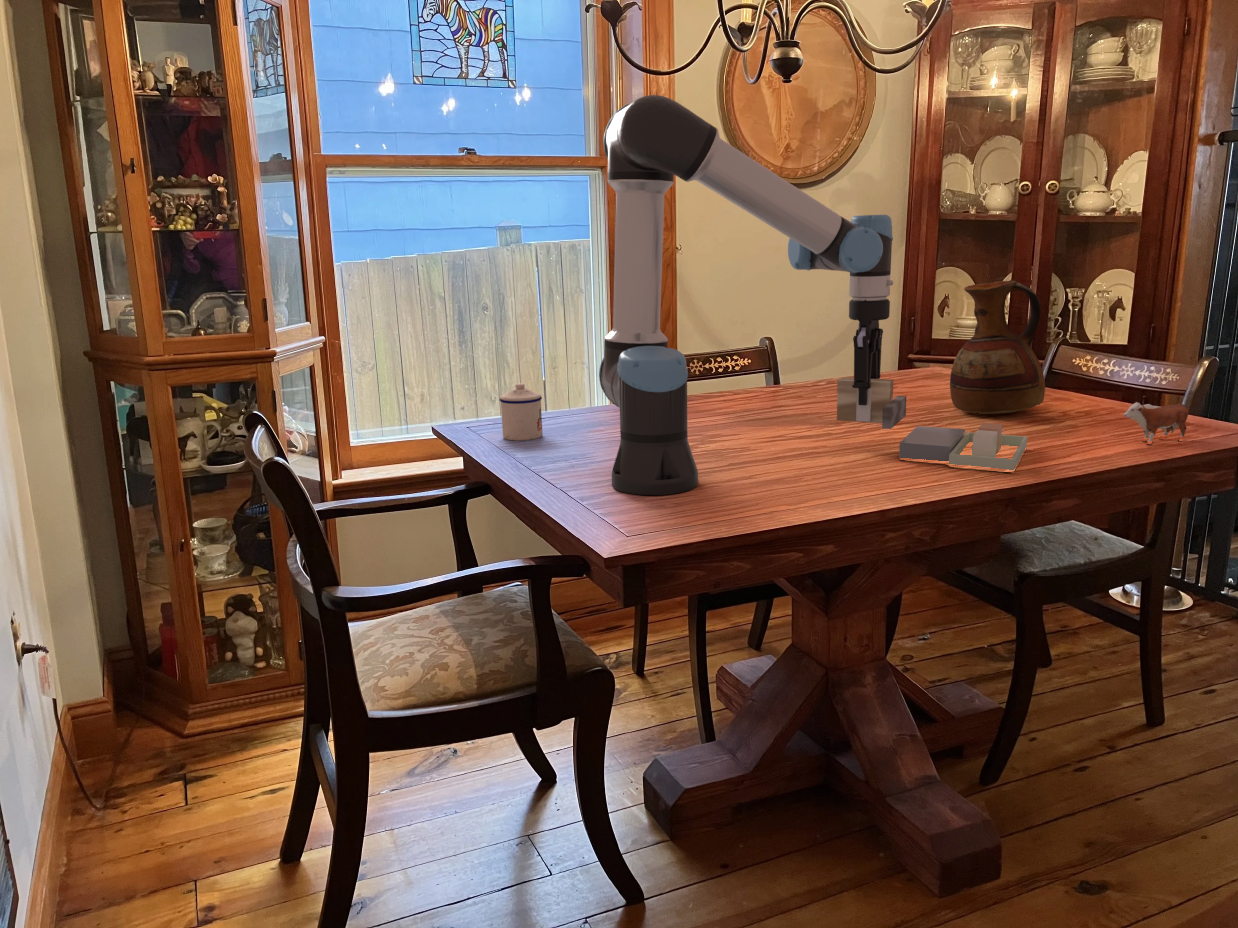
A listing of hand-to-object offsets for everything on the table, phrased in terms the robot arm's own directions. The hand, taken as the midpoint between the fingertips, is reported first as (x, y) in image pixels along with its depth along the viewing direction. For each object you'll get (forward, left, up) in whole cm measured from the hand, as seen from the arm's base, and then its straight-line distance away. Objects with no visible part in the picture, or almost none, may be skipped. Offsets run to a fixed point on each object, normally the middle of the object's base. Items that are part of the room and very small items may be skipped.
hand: (866, 418), depth 187 cm
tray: (0, -23, -6) cm, 24 cm away
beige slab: (0, 0, 0) cm, 1 cm away
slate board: (0, -13, -6) cm, 14 cm away
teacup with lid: (-15, +72, -6) cm, 74 cm away
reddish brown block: (+3, -21, -3) cm, 21 cm away
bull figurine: (+25, -50, -6) cm, 56 cm away
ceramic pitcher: (+45, -18, -6) cm, 49 cm away
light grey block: (-4, -21, -3) cm, 21 cm away
